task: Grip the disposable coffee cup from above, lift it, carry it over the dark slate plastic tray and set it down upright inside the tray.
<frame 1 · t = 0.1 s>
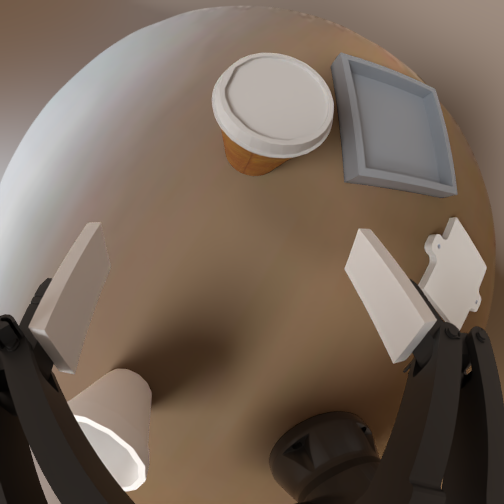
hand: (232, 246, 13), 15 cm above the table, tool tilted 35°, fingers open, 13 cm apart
foam cup: (127, 390, 27), on the table
disposable coffee cup: (253, 150, 29), on the table
slate tray: (393, 130, 32), on the table
mounting plate: (451, 276, 34), on the table
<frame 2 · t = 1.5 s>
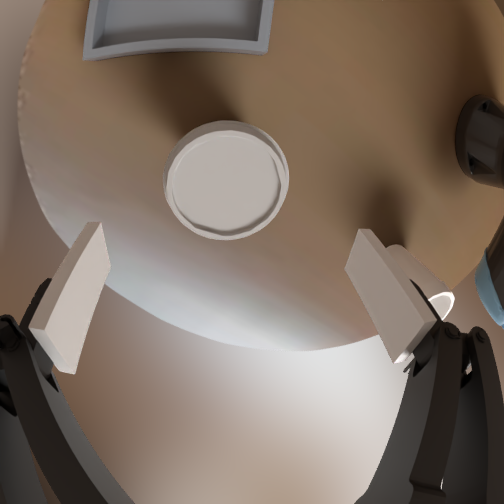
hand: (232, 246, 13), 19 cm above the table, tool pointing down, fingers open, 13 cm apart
foam cup: (389, 259, 41), on the table
disposable coffee cup: (223, 147, 29), on the table
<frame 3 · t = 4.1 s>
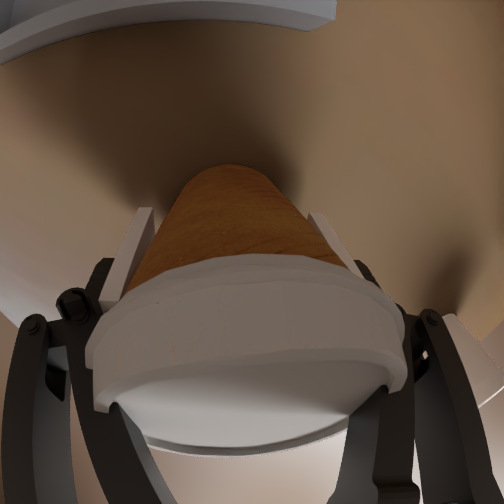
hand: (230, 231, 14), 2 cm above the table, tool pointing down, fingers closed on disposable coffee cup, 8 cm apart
foam cup: (436, 328, 29), on the table
disposable coffee cup: (229, 213, 16), on the table, touching gripper
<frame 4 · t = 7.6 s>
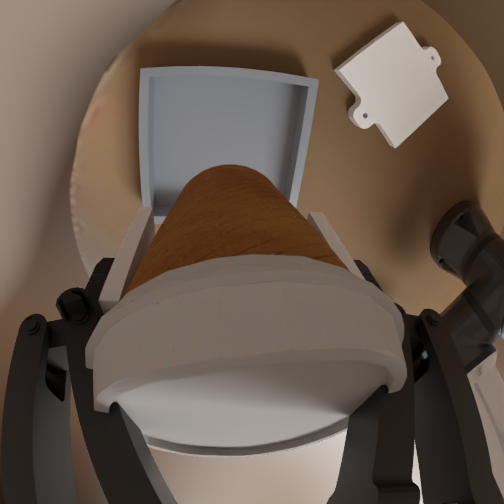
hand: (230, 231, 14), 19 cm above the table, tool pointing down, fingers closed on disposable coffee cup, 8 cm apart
disposable coffee cup: (229, 213, 16), point 17 cm above the table, touching gripper
slate tray: (222, 143, 30), on the table
mounting plate: (393, 82, 27), on the table
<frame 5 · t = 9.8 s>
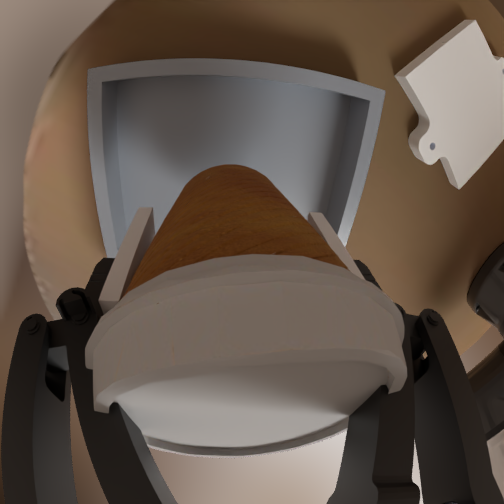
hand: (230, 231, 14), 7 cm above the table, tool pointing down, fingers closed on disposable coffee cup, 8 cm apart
disposable coffee cup: (229, 213, 16), point 5 cm above the table, touching gripper
slate tray: (227, 184, 20), on the table
mounting plate: (460, 98, 17), on the table
when the fingers open (4 cm above the table, at t = 11.3 s): disposable coffee cup drops 1 cm, resting on slate tray.
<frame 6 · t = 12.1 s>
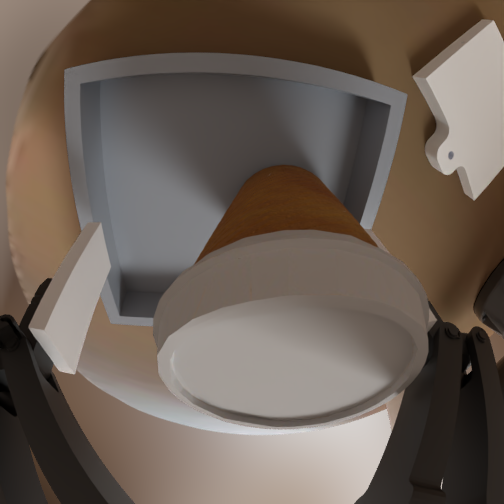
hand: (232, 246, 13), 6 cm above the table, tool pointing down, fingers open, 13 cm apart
foam cup: (396, 379, 44), on the table
disposable coffee cup: (283, 209, 18), point 1 cm above the table, touching gripper, slate tray
slate tray: (227, 197, 18), on the table
mounting plate: (477, 102, 15), on the table
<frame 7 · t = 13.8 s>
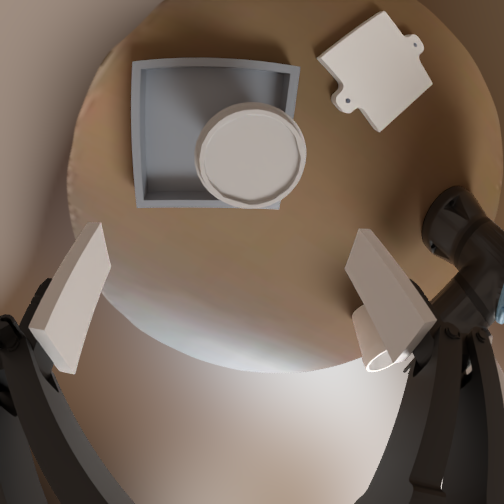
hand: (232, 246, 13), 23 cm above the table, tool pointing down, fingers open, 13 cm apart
foam cup: (363, 312, 57), on the table
disposable coffee cup: (240, 133, 31), point 1 cm above the table, touching slate tray
slate tray: (210, 130, 31), on the table
mounting plate: (376, 68, 27), on the table
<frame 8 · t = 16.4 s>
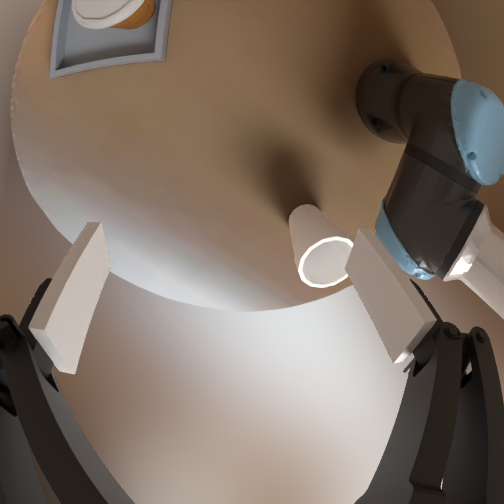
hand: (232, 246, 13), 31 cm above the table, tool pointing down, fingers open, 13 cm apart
foam cup: (304, 219, 49), on the table
disposable coffee cup: (135, 11, 24), point 1 cm above the table, touching slate tray
slate tray: (113, 15, 23), on the table
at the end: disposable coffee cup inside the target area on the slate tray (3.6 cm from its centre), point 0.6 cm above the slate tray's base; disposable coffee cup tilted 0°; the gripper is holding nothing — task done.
